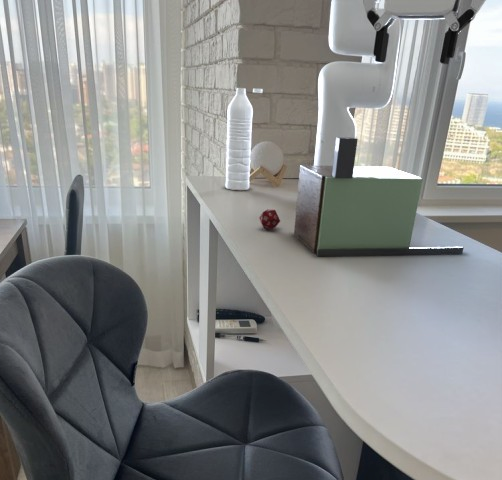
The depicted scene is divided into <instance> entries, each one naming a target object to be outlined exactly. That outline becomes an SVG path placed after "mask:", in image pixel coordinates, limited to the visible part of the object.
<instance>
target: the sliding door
mask: <svg viewBox="0 0 502 480" xmlns="http://www.w3.org/2000/svg"><path fill="white" fill-rule="evenodd" d="M358 140H359V139H358V138H357V137H356V138H341V137H337V138H336V145H335V154H334V162H333V171H332V177H325V183H324V192H323V201H322V210H321V219H320V228H319V237H318V246H317V249H355V248H411V241H412V235H413V231H414V226H415V221H416V216H417V211H418V205H419V201H420V195H421V190H422V185H423V181H424V180H423V178H422V177H420V178H381V177H353V170H354V166H355V162H356V155H357V154H356V153H357V147H358Z"/></svg>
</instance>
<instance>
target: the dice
mask: <svg viewBox="0 0 502 480" xmlns="http://www.w3.org/2000/svg"><path fill="white" fill-rule="evenodd" d="M259 221H260V223H261V225H262V227H263V229H265V230H273V229H275V228H277V226H278V225H279V223H280V222H281V219H280V217H279V214H278V213H277V210H276V209H266V210H263V212H262V213H261V215H260V216H259Z"/></svg>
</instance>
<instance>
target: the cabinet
mask: <svg viewBox="0 0 502 480" xmlns="http://www.w3.org/2000/svg"><path fill="white" fill-rule="evenodd" d="M332 171H333V166H316V165H314V164H312V165H310V164H306V165H305V164H301V165H299V175H298V186H297V195H296V196H297V197H296V207H295V208H296V209H295V217H294V229H293V230H294V231H293V236H295V238H297V239H298V240H299V241H300V242H301V243H302V244H303V245H305V246H306V248H308V249H309V250H310V251H311V252H312V253H313V254H316V257H365V256H367V257H368V256H369V257H370V256H373V257H374V256H423V255H425V256H427V255H463V252H464V248H465V247H463V246H436V247H435V246H432V247H430V246H429V247H428V246H426V247H409V248H355V249H317V246H318V237H319V228H320V219H321V210H322V201H323V192H324V183H325V177H332ZM353 177H381V178H421V177H420V176H417V175H415V174H411V173H408V172H405V171H402V170H398V169H397V168H393V167H391V166H360V165H359V166H355V165H354V170H353Z"/></svg>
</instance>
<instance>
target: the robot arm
mask: <svg viewBox="0 0 502 480" xmlns="http://www.w3.org/2000/svg"><path fill="white" fill-rule="evenodd" d="M486 1H487V0H471V3H470V5H469V6H468V9H466V10H465V12H463V13H462V14H461V15H460V16H459V17H458V15H457V14H458V13H459V11H460V7H461V2H462V0H384V4H383V8H381V7H379V8H378V7H376V5H377V3H379V2H381V0H330V13H329V23H328V24H329V25H328V46H329V49H330V50H331V52H333V53H334V54H336V55H343V56H353V57H370V58H372V59H373V63H372V62H360V61H346V60H345V61H343V60H337V61H331V62H329V63H327V64H325V65H324V66H323V67H322V68H321V70H320V71H319V73H318V74H319V75H318V80H317V93H318V94H317V95H318V98H317V99H318V112H317V113H318V114H317V115H318V116H317V126H316V139H315V148H314V149H315V150H314V157H313V158H314V159H313V165H316V166H333V162H334V154H335V145H336V138H337V137H341V138H356V139H357V131H358V130H357V123H356V121H355V119H354V117H353V115H352V114H351V112H350V110H349V109H354V108H355V109H372V110H373V109H374V110H377V109H382V108H385V107H387V105H388V104H389V103H390V101H391V100H392V99H391V98H392V96H393V91H394V87H395V78H396V72H397V64H398V56H399V49H400V42H401V41H400V40H401V30H402V29H401V28H402V27H401V21H400V20H445V22H446V24H447V26H448V29H447V30H446V32H445V33H444V37H443V43H442V48H441V52H440V58H439V63H441V64H442V65H449V64H450V59H453V58H454V57H455V53H456V47H457V44H458V43H457V42H458V37H459V33H461V32H462V30H463V29H464V28H465V27H467V26H468V24H470V23H471V22H472V21H473V20H474V19H475V18H476V16H477V14H478V13H479V11H480V10H481V8H482V7H483V5H484V4H485V2H486Z"/></svg>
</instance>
